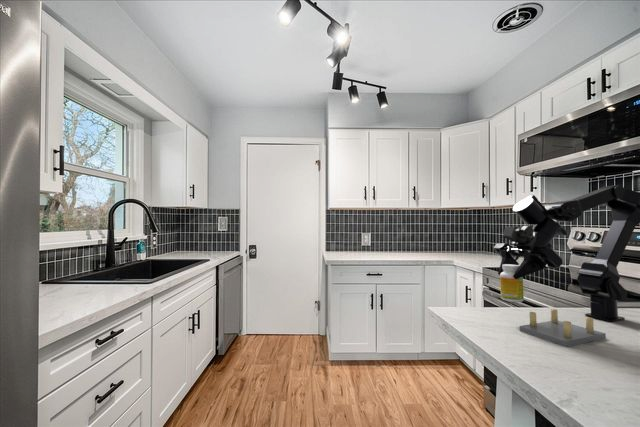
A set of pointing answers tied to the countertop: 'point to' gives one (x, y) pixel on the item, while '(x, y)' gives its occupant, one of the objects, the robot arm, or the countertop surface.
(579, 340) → the plate
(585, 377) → the countertop surface
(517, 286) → the supplement bottle
